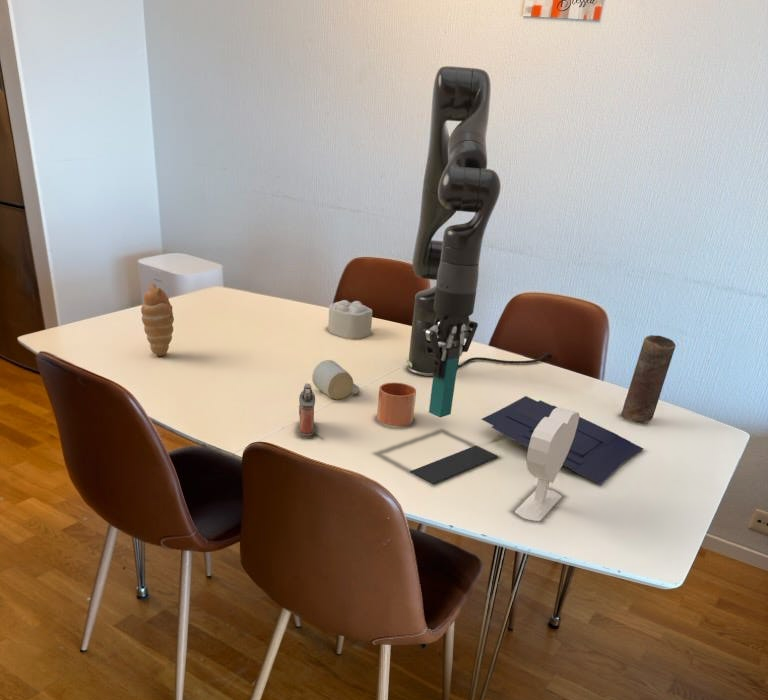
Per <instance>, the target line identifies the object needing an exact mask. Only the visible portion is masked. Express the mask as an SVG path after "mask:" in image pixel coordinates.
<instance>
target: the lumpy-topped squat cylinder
mask: <svg viewBox="0 0 768 700" xmlns="http://www.w3.org/2000/svg"><path fill="white" fill-rule="evenodd" d="M372 322H373V309H372V308H371V307H368V306H366V305H364V304H363V303H362V302H361V301H359V300H354V301H352V302H349V300H346V299H343V300H340V301H336V302H333V303H330V304H329V306H328V322H327V323H328V324H327V325H328V327H327V330H328V332H330V333H331V334H332V335H335V336H337V337H342V338H345V339H349V340H360V339H363V338H364V337H365V338H366V337H368V336H371V334H372Z"/></svg>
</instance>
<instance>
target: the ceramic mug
mask: <svg viewBox="0 0 768 700" xmlns="http://www.w3.org/2000/svg"><path fill="white" fill-rule="evenodd" d="M311 376H312V377H311V379H312V383H313V386H314V387H315V388H316V389H318V390H319V391H320V392H322V393H323V394H325V395H326V396H327V397H329V398H331V399H333V400H337V401H338V400H343V399H346V398H347V397H348V396H349V395H350V394H354V395H357V394H358V393H359V392H360V386H358V385H357V384H355V383H354V380H353V379H354V378H353V377H352V375H351V374H350V373H349V372H348V371H347V370H346V369H344V367H342V366H341V365H340V364H339V363H337V362H336V361H334V360H333V359H325V360H322V361H320V362H319V363H318V364H316V366H315V368H314V369H313V372H312V375H311Z"/></svg>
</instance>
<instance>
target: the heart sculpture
mask: <svg viewBox="0 0 768 700" xmlns="http://www.w3.org/2000/svg"><path fill="white" fill-rule="evenodd" d="M556 407H557V408H555V409H554V410H553V411H552V412H551V414H550V416H549V418H548V417H544V418H543V419H542V420H541V421H540V423H539V424H538V425H537V427H536V428H535V430H534V432H533V434H532V436H531V440H530V443H529V447H527V455H526V469H527V471H528V472H529V474H530V475H532V476H533V477H534V478H536V479H538V480H537V484H536V488H535V490H533V492H532V493H531V494H530V495H529V496H528V497H527V498H526V499H525V500H524V501H523V502H522V503H521V505H519V506H518V507H517V508H516V509H515V510H514V513H515V514H516V515H518V516H519V517H521V518H522V519H524V520H529V521H536V522H540V521H542V520H543V519H544V517H545V516H546V515H547V514H548V512H550V510H551V509H552V508H553V507H554V505H556V504H557V503H558V502H559V501H560V500H561V498H562V495H560V494H559V493H558V492H556V491H554V490H553V489H549V485H550V483H551V484H554V482H555V480H556V478H557V476H558V474H559V472H560V470H561V469H562V467H563V466H564V465H563V463H564V461H565V458H566V456H567V454H568V452H569V450H570V447H571V444H572V442H573V439H574V436H575V432H576V429H577V425H578V420H579V417H580V413H579V412H578V411H574V410H572V409H571V410H570V409H568V408H564V407H559V406H556Z"/></svg>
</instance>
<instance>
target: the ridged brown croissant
mask: <svg viewBox="0 0 768 700" xmlns="http://www.w3.org/2000/svg"><path fill="white" fill-rule="evenodd" d="M169 299H170V298H169V297H168V295H167V293H166V292H165V291H164V290H162V289H161V287H157V285H156V284H155V283H154V282H152V283H151V286H150V288H148V289H147V290H146V291H145V292H144V295H143V303H142V305H141V309H140V313H141V315H142V316H141V322H142V324H143V330H144V333H145V335H146V339H147V342H148V343H149V348H150V350H151V352H152V354H153V355H155V356H156V357H157V356H158V357H162V356H165V355H166V354H167V353H168V351H169V348H170V344H171V342H172V340H173V333H174V326H173V324H174V321H175V318H174V317H175V316H174V313H173V306H172V304H171V302H170V300H169Z"/></svg>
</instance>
